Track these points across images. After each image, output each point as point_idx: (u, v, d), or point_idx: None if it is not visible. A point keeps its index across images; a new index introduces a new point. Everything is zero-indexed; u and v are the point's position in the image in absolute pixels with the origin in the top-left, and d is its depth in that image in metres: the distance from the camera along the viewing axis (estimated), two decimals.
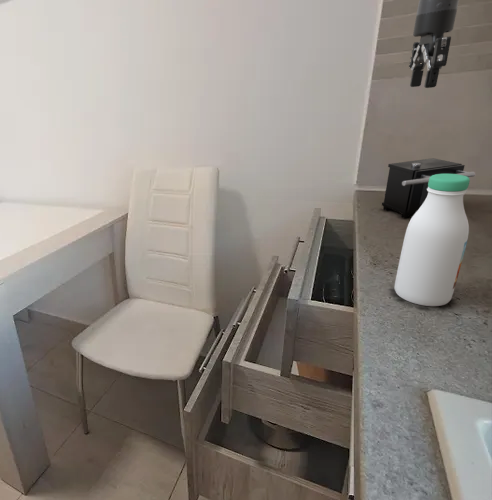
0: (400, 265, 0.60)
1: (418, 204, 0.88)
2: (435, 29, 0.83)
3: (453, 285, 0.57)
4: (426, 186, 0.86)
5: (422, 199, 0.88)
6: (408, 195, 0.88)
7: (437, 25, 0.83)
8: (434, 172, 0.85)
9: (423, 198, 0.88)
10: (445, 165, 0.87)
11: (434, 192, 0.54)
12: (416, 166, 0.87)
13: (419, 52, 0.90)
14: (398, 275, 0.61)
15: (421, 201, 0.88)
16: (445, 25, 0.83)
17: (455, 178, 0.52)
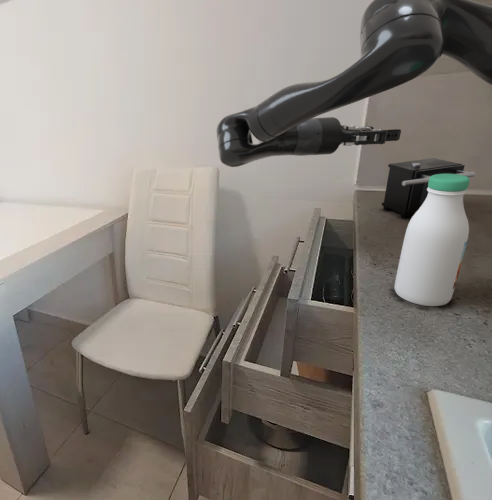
0: (400, 265, 0.60)
1: (418, 204, 0.88)
2: (338, 141, 0.75)
3: (453, 285, 0.57)
4: (426, 186, 0.86)
5: (422, 199, 0.88)
6: (408, 195, 0.88)
7: (334, 141, 0.75)
8: (434, 172, 0.85)
9: (423, 198, 0.88)
10: (445, 165, 0.87)
11: (434, 192, 0.54)
12: (416, 166, 0.87)
13: None
14: (398, 275, 0.61)
15: (421, 201, 0.88)
16: (336, 133, 0.74)
17: (455, 178, 0.52)
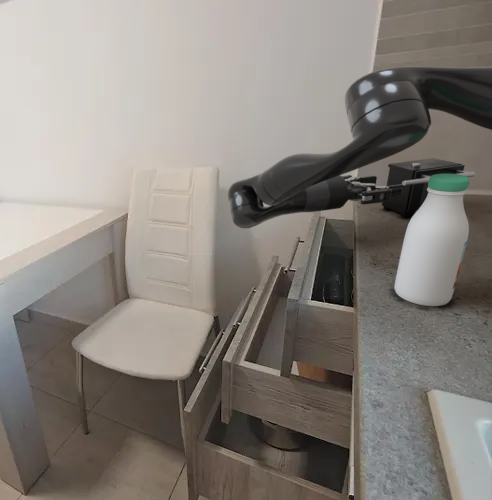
0: (400, 265, 0.60)
1: (418, 204, 0.88)
2: (344, 199, 0.78)
3: (453, 285, 0.57)
4: (426, 186, 0.86)
5: (422, 199, 0.88)
6: (408, 195, 0.88)
7: (341, 199, 0.78)
8: (434, 172, 0.85)
9: (423, 198, 0.88)
10: (445, 165, 0.87)
11: (434, 192, 0.54)
12: (416, 166, 0.87)
13: None
14: (398, 275, 0.61)
15: (421, 201, 0.88)
16: (343, 192, 0.77)
17: (455, 178, 0.52)
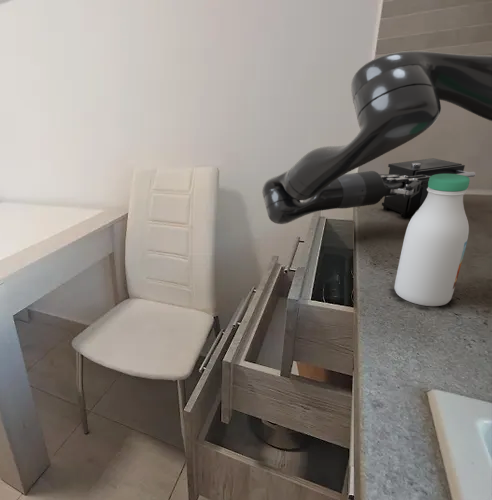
0: (400, 265, 0.60)
1: (418, 204, 0.88)
2: (380, 196, 0.79)
3: (453, 285, 0.57)
4: None
5: (422, 199, 0.88)
6: None
7: (377, 195, 0.78)
8: (434, 172, 0.85)
9: (423, 198, 0.88)
10: (445, 165, 0.87)
11: (434, 192, 0.54)
12: (416, 166, 0.87)
13: None
14: (398, 275, 0.61)
15: (421, 201, 0.88)
16: (379, 188, 0.78)
17: (455, 178, 0.52)
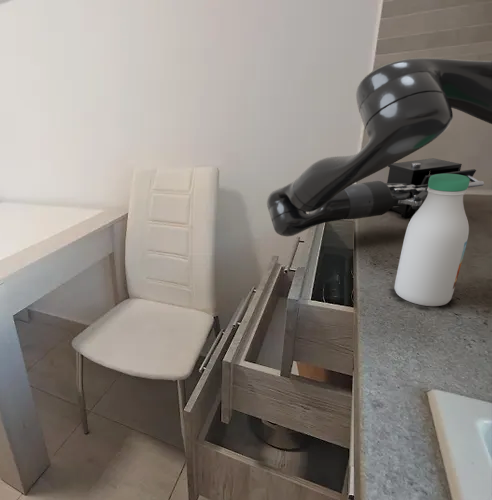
0: (400, 265, 0.60)
1: None
2: (388, 206, 0.77)
3: (453, 285, 0.57)
4: None
5: None
6: None
7: (385, 206, 0.77)
8: None
9: None
10: (445, 165, 0.87)
11: (434, 192, 0.54)
12: (416, 166, 0.87)
13: None
14: (398, 275, 0.61)
15: None
16: (387, 199, 0.76)
17: (455, 178, 0.52)
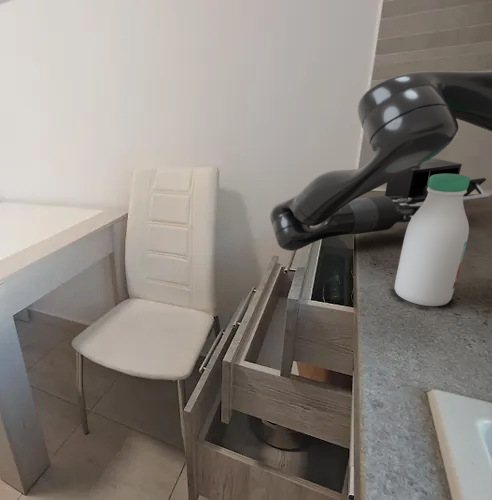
0: (400, 265, 0.60)
1: None
2: (393, 222, 0.76)
3: (453, 285, 0.57)
4: None
5: None
6: (408, 195, 0.88)
7: (390, 222, 0.76)
8: None
9: None
10: (445, 165, 0.87)
11: (434, 192, 0.54)
12: None
13: None
14: (398, 275, 0.61)
15: None
16: (392, 214, 0.75)
17: (455, 178, 0.52)
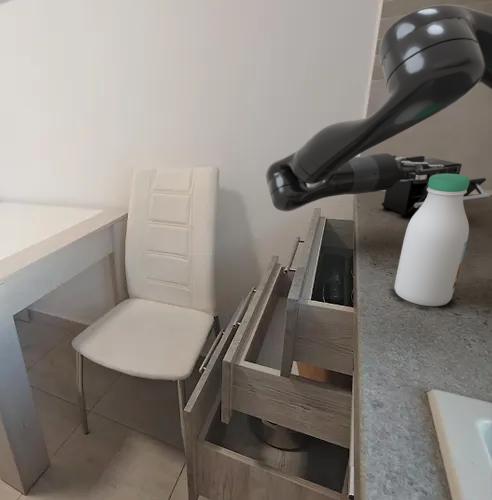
0: (400, 265, 0.60)
1: None
2: (394, 180, 0.72)
3: (453, 285, 0.57)
4: None
5: None
6: (408, 195, 0.88)
7: (391, 179, 0.72)
8: None
9: None
10: None
11: (434, 192, 0.54)
12: None
13: None
14: (398, 275, 0.61)
15: None
16: (393, 171, 0.72)
17: (455, 178, 0.52)
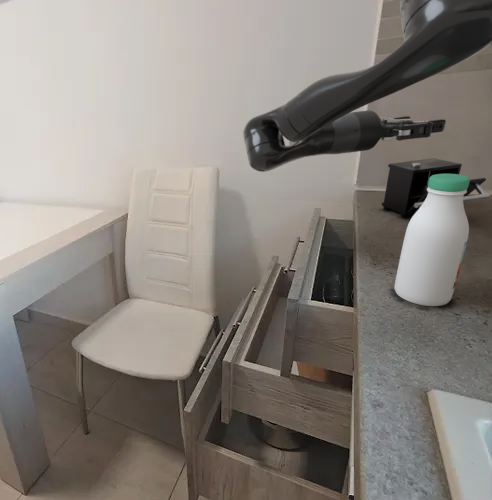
0: (400, 265, 0.60)
1: None
2: (377, 137, 0.69)
3: (453, 285, 0.57)
4: None
5: None
6: (408, 195, 0.88)
7: (374, 137, 0.69)
8: None
9: None
10: (445, 165, 0.87)
11: (434, 192, 0.54)
12: (416, 166, 0.87)
13: None
14: (398, 275, 0.61)
15: None
16: (376, 128, 0.68)
17: (455, 178, 0.52)
